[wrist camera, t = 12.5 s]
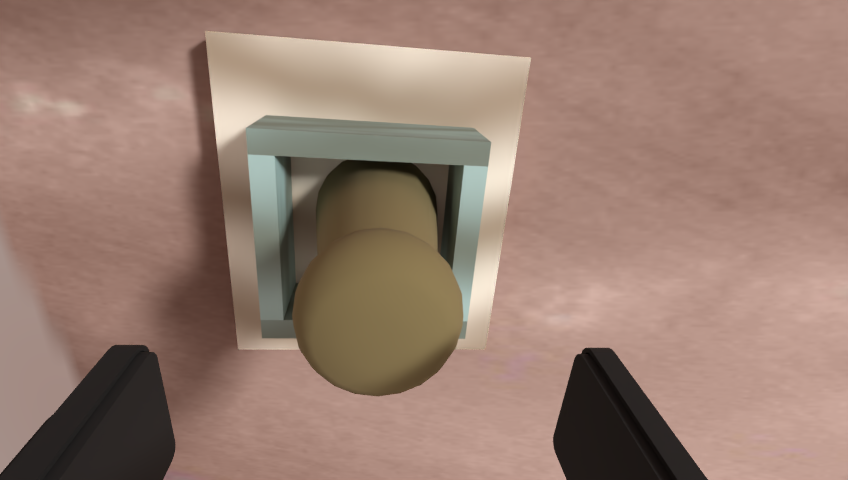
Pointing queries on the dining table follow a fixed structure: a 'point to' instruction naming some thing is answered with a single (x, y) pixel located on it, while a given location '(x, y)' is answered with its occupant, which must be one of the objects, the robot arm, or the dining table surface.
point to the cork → (377, 282)
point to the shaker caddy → (357, 158)
